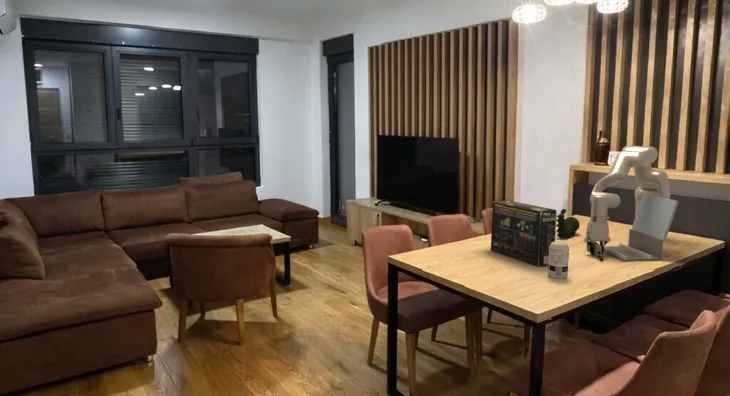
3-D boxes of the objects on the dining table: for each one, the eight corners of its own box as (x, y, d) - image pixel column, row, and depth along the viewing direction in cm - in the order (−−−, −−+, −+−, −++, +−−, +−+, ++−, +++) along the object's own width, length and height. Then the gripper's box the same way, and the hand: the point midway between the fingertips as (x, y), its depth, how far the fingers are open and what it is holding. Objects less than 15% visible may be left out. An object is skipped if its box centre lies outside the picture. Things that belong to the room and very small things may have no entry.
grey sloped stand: (630, 247, 277) (631, 228, 275) (661, 260, 251) (663, 240, 249) (595, 248, 275) (596, 229, 274) (623, 261, 249) (624, 241, 248)
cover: (631, 228, 275) (633, 229, 275) (663, 239, 249) (665, 240, 250) (643, 193, 273) (645, 193, 273) (676, 200, 247) (679, 201, 247)
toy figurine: (567, 243, 292) (583, 232, 310) (568, 212, 288) (584, 202, 306) (551, 241, 299) (568, 230, 316) (551, 210, 295) (568, 201, 312)
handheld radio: (592, 249, 274) (605, 262, 249) (586, 249, 274) (598, 262, 250) (592, 237, 273) (606, 248, 248) (586, 237, 273) (598, 248, 249)
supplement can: (544, 273, 230) (546, 241, 228) (562, 273, 231) (564, 241, 229) (552, 279, 222) (554, 245, 220) (570, 278, 223) (572, 245, 221)
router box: (555, 264, 245) (558, 209, 241) (538, 267, 240) (541, 211, 236) (505, 248, 277) (507, 199, 273) (489, 250, 272) (490, 200, 268)
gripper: (610, 217, 263) (607, 251, 266) (579, 217, 262) (577, 252, 265) (618, 219, 256) (616, 255, 259) (586, 220, 255) (584, 256, 257)
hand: (596, 253), depth 262 cm, fingers open, 3 cm apart
